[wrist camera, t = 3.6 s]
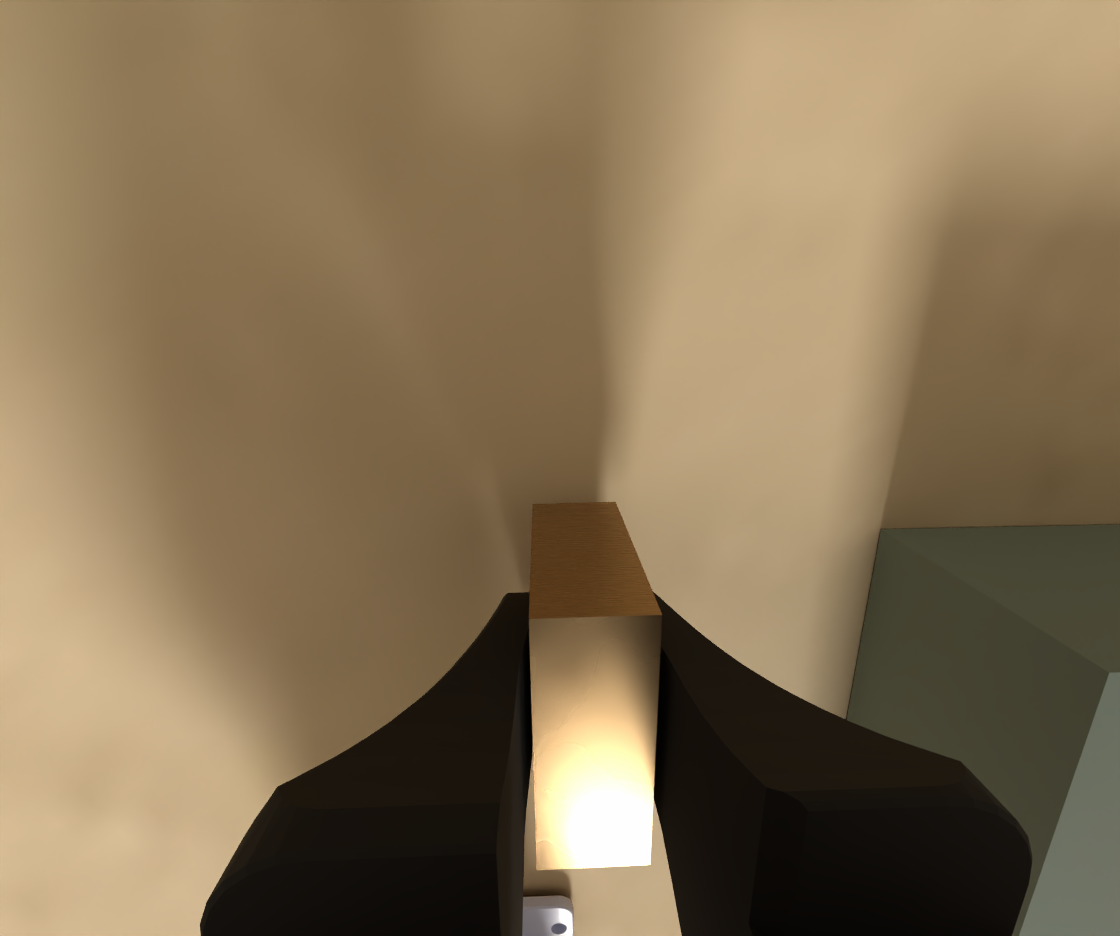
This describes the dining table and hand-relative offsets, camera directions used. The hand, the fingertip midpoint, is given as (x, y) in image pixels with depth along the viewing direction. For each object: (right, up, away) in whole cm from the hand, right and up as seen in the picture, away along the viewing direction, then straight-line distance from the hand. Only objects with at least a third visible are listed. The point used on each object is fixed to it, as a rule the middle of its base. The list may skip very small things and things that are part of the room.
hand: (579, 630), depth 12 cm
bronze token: (0, 0, +2) cm, 2 cm away
